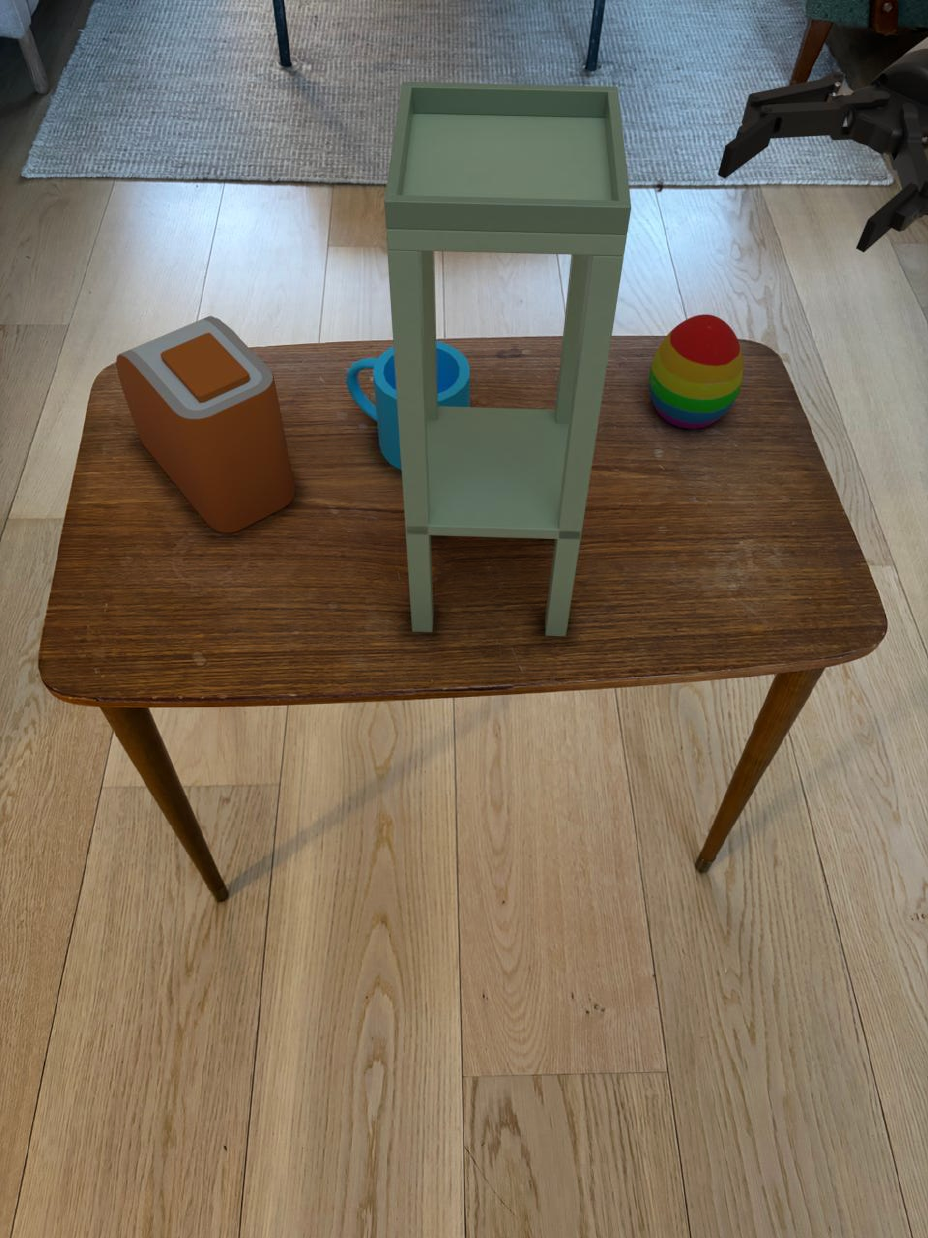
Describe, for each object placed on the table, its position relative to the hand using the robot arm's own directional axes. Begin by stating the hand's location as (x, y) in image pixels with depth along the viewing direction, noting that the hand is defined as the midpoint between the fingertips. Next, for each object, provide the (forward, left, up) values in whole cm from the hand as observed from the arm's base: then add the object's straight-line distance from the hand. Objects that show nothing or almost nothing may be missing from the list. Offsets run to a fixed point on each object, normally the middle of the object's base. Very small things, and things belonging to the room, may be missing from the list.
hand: (793, 198), depth 80 cm
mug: (+32, +10, -18) cm, 38 cm away
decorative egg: (+6, +5, -18) cm, 20 cm away
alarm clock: (+48, +15, -18) cm, 53 cm away
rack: (+24, +26, -18) cm, 39 cm away
